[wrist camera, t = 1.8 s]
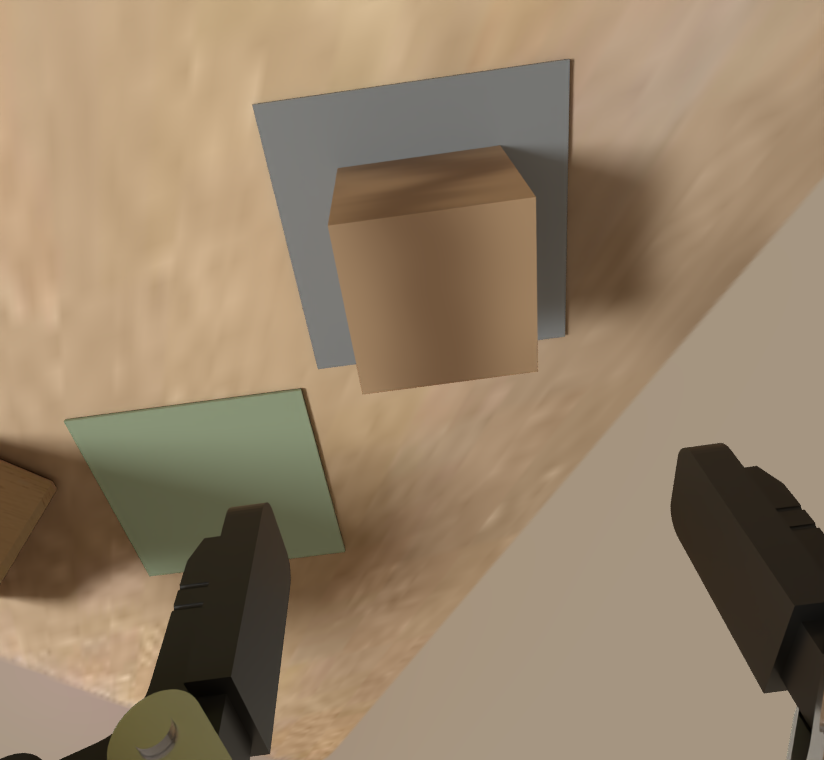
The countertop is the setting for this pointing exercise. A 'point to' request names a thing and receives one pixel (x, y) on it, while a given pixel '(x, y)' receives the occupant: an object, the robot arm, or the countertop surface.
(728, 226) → the countertop surface
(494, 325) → the walnut block
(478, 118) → the tile
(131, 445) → the mat
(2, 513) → the decorative block
